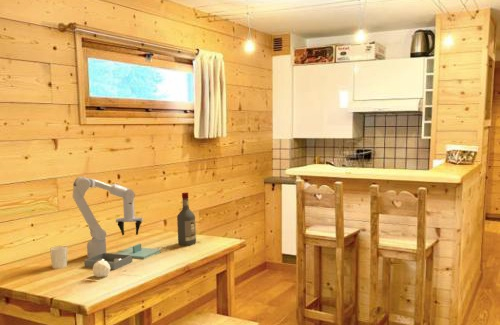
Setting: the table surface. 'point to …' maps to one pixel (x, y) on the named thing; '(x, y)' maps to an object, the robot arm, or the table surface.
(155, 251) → the lid
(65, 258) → the white cup
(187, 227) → the liquor
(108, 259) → the tub
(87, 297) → the table surface
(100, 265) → the ball
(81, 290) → the table surface
